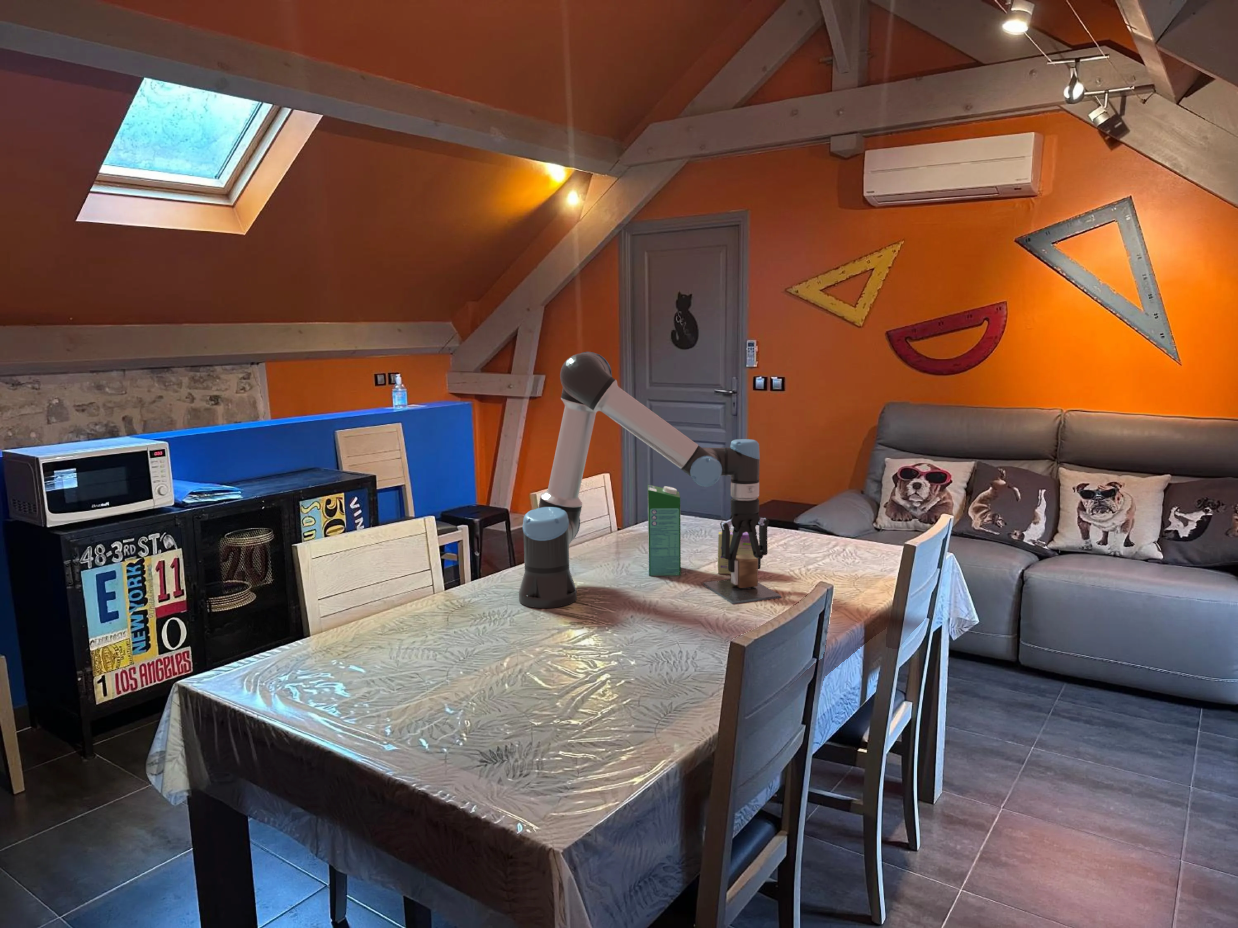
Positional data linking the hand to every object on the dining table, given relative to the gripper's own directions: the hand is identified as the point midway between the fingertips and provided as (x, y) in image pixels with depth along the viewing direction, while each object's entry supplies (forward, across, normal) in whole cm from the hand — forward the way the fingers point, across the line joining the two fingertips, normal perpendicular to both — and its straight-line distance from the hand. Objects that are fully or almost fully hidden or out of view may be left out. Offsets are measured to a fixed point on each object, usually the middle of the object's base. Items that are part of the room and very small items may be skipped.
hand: (744, 582), depth 231 cm
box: (+2, +5, +15) cm, 16 cm away
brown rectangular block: (+1, 0, 0) cm, 1 cm away
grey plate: (+2, -2, -2) cm, 3 cm away
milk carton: (+2, -14, +23) cm, 27 cm away
